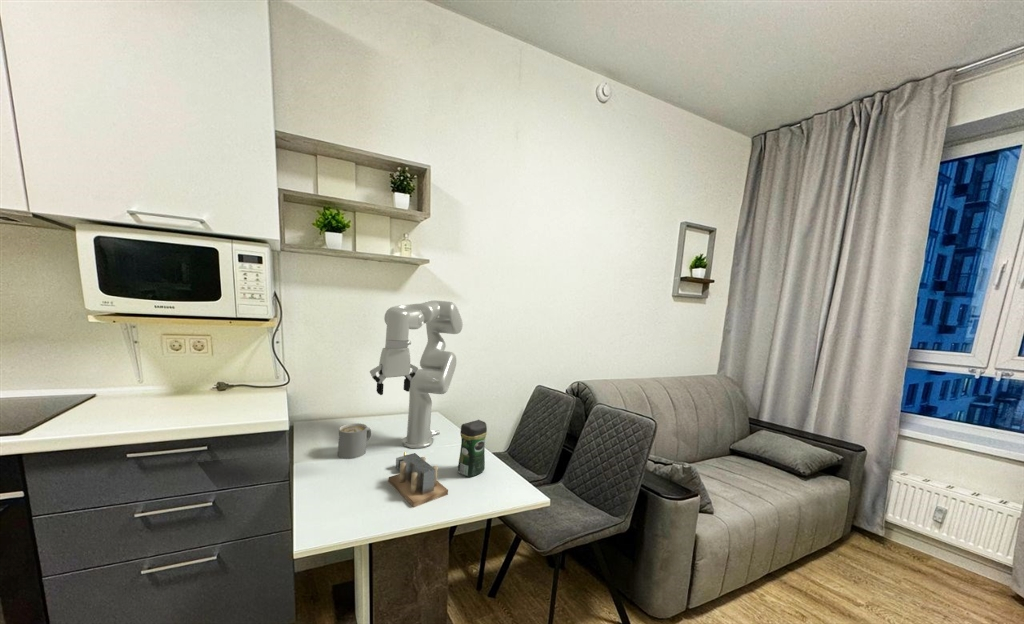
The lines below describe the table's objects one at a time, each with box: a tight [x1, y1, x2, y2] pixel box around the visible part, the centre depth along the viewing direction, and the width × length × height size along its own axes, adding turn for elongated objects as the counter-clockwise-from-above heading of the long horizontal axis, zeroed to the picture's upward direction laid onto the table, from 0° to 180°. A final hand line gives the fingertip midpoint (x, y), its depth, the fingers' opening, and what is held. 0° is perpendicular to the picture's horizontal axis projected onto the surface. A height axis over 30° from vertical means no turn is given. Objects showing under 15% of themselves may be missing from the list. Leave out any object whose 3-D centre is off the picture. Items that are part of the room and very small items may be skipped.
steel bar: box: [403, 452, 435, 495], centre depth 116 cm, size 4×14×7 cm, turn 42°
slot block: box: [395, 451, 407, 472], centre depth 128 cm, size 6×5×6 cm
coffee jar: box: [457, 419, 488, 478], centre depth 129 cm, size 10×8×19 cm
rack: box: [388, 456, 449, 508], centre depth 115 cm, size 12×18×8 cm, turn 43°
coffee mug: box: [337, 422, 372, 460], centre depth 138 cm, size 13×10×10 cm
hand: (393, 392), depth 124 cm, fingers open, 9 cm apart
